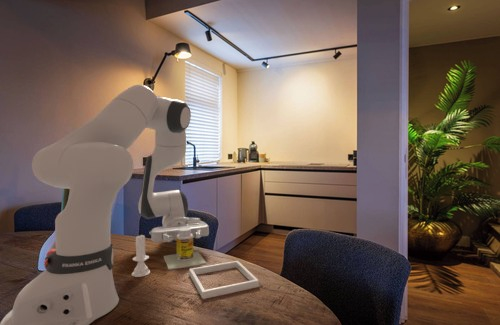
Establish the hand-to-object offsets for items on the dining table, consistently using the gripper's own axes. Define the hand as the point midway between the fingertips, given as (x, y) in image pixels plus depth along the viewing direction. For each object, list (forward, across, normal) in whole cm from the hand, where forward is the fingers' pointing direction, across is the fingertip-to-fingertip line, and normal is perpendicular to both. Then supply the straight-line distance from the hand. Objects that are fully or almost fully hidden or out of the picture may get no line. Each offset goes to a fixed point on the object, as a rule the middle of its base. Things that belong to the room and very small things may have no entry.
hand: (184, 237), depth 94 cm
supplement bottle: (-1, 0, +8) cm, 8 cm away
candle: (+4, -14, +8) cm, 17 cm away
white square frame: (+19, +7, +8) cm, 22 cm away
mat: (-1, 0, +8) cm, 8 cm away
